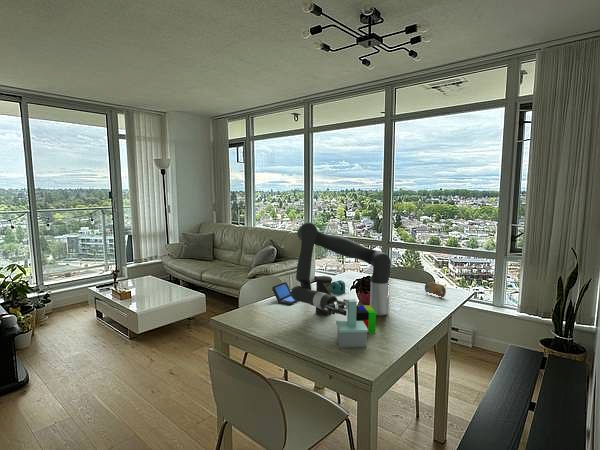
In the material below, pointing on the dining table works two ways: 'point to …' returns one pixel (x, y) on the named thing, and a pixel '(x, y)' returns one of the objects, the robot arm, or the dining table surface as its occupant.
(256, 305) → the dining table surface
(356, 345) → the tub
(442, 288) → the wooden scrub brush
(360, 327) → the lid
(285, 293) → the handheld game console
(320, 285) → the container
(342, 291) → the teal rounded piece
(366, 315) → the puzzle toy
